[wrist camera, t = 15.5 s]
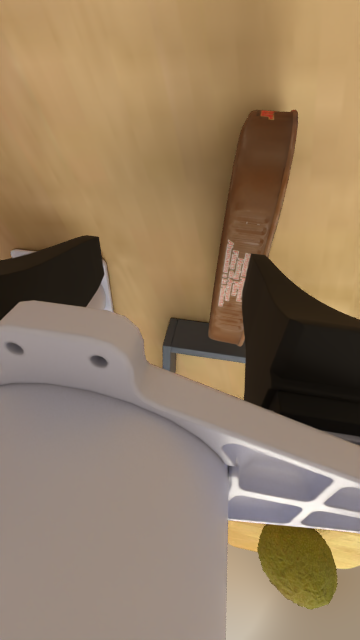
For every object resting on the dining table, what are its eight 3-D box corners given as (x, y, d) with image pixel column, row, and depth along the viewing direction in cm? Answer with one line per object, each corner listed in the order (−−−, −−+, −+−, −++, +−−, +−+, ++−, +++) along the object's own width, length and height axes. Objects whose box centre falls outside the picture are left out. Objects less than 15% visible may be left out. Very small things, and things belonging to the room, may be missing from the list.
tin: (243, 303, 26) (245, 372, 20) (210, 299, 27) (202, 365, 20) (291, 106, 17) (325, 116, 10) (239, 103, 17) (240, 110, 10)
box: (168, 415, 42) (162, 442, 38) (170, 317, 29) (162, 345, 26) (258, 430, 40) (260, 459, 37) (302, 335, 28) (310, 367, 24)
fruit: (244, 521, 68) (243, 589, 54) (282, 487, 64) (291, 550, 50) (299, 565, 67) (313, 647, 52) (341, 532, 62) (368, 611, 48)
